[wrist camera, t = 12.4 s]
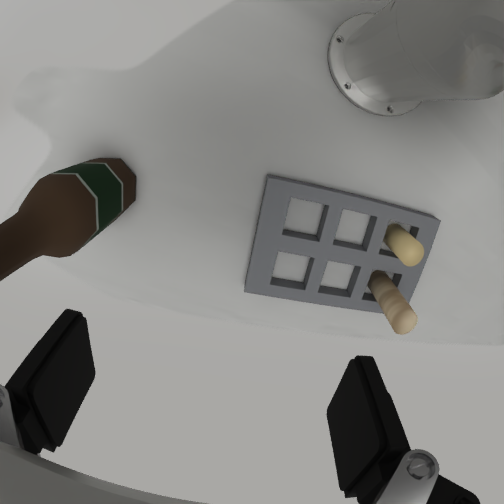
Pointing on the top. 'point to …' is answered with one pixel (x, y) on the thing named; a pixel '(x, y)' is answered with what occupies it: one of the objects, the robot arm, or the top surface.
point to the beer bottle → (66, 212)
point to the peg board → (337, 246)
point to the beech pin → (392, 303)
